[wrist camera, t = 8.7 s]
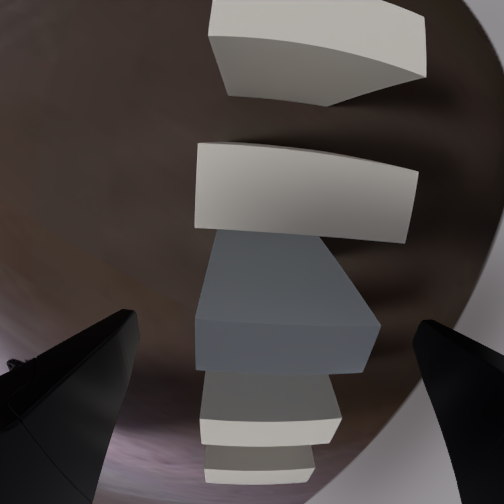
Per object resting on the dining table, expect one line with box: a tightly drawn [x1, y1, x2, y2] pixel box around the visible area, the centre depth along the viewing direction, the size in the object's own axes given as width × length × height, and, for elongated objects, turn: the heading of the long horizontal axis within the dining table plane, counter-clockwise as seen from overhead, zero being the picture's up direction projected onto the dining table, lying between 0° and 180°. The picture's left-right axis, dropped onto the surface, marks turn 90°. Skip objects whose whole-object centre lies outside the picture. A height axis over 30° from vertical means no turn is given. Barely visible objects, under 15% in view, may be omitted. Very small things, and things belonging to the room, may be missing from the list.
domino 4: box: [200, 371, 342, 447], centre depth 13 cm, size 2×5×9 cm, turn 86°
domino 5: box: [204, 444, 315, 484], centre depth 15 cm, size 2×5×9 cm, turn 85°
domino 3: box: [195, 229, 381, 375], centre depth 12 cm, size 2×5×9 cm, turn 85°
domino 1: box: [208, 0, 426, 107], centre depth 9 cm, size 2×5×9 cm, turn 86°
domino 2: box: [195, 142, 419, 244], centre depth 10 cm, size 2×5×9 cm, turn 85°
